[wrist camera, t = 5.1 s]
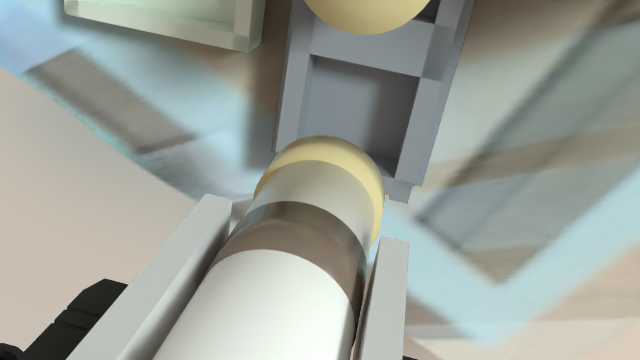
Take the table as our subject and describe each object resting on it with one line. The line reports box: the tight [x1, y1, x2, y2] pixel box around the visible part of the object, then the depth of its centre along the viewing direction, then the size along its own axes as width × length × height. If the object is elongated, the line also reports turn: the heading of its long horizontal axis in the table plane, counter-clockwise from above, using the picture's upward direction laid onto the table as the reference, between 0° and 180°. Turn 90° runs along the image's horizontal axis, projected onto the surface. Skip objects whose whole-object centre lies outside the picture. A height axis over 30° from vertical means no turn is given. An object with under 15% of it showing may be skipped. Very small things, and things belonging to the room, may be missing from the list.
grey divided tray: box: [272, 0, 476, 203], centre depth 26 cm, size 16×9×3 cm, turn 171°
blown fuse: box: [152, 135, 385, 360], centre depth 13 cm, size 4×4×12 cm
